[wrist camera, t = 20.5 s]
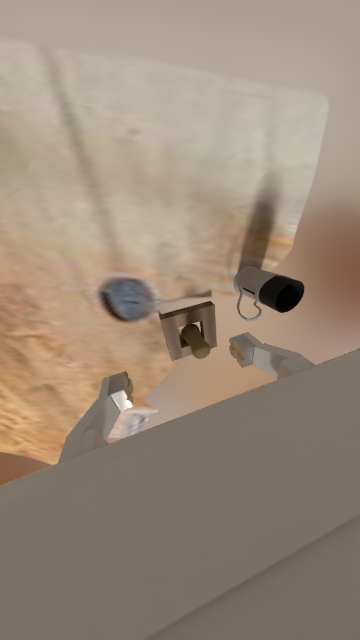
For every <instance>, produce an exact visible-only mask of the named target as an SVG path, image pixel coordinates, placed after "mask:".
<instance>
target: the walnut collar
mask: <svg viewBox="0 0 360 640" xmlns="http://www.w3.org/2000/svg"><path fill="white" fill-rule="evenodd" d="M159 317H160V320H161V324H162V328H163V331H164V335H165V339H166V342H167V346H168V350H169V353H170V357H171V360H172V361H174V360H177V359H180V358H183V357H186V356H189V355H192V351H191V347H190V346H189V344H188V343H187V342H186V341H183V342H180V338H179V334H178V329H177V328H178V327H181V326H185V325H188V324H192V323H195V322H198V321H200V327H201V335H202V337H203V339H204V341H205V342H207V343H208V344H209V346H210V349H211V348H214V347H216V346H217V342H216V322H215V305H214V304H213V303H212V302H211V301H209V302H205V303H201V304H198V305H194V306H191V307H187V308H183V309H179V310H176V311H172V312H169V313H165V314H161V315H159Z"/></svg>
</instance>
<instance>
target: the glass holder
mask: <svg viewBox="0 0 360 640" xmlns="http://www.w3.org/2000/svg"><path fill="white" fill-rule="evenodd" d="M234 288H235V290H236V292H237V293H239V294H240V297H239V300H238V304H237V310H238V313H239V314H240V316H241V317H242V318H243V319H245V320H247V321H254V320H256V319H258V318H259V317H260V316H261V309H260V308H259V307H258V306H257V305H256V304H257V303H258V302H260V303H261V304H263V305H267V306H268V307H270V308H272V309H274V310H276V311H278V312H281V313H284V312H288V311H290V310H291V309H293V308H294V307H295V306H296V305H297V304H298V303H299V302H300V300H301V299H302V297H303V294H304V285H303V283H302V282H301V281H297V280H294V279H291V278H289V277H286V276H282V275H278V274H274V273H271V272H267V271H264V270H260V269H257V268H256V267H255V266H246V267H244V268H243V269H241V270H240V271H239V272H238V274H237V275H236V277H235V280H234ZM242 294H244V295H246V296H248V297H250V298H252V299H254V300H255V302H254V306H255V307H256V308H258V309H259V314H258V315H257V316H256V317H254V318H251V319H247V318H245V317H244V316H242V315H241V313H240V310H239V304H240V301H241V298H242Z"/></svg>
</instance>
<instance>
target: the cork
mask: <svg viewBox="0 0 360 640" xmlns="http://www.w3.org/2000/svg"><path fill="white" fill-rule="evenodd" d="M181 334H182V337H183V338H184V339H185V340H186V342H187V343H188V344H189V346H190V347H191V351H192V354H193V355H194V356H195V357H196V358H198V359H202V358H205V357H207V356H208V355H209V353H210V346H209V344H208V343H207V342H205V341H204V339H203V337H202V335H201V332H200V330H199V328H198V326H197V325H195V324H188V325H186V326H185V327H184V328H183V329H182V332H181Z"/></svg>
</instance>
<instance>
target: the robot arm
mask: <svg viewBox="0 0 360 640" xmlns="http://www.w3.org/2000/svg"><path fill="white" fill-rule="evenodd" d="M229 342H230V343H231V345H230V346H229V347H230V348H229V350H230V353H231V355H232V356H233V357H234V358H236V359H237V362H238V363H239V364H240V366H241V367H242V368H243V367H246V366H249V365H254V366H255V367H258V368H259V369H261V370H263V371H265V372H267V373H269V374H271V375H273V376H275V377H277V380H276V381H273V382H271V383H268V384H265V385H263V386H260V387H258V388H255V389H252V390H250V391H247V392H244V393H242V394H239V395H236V396H234V397H231V398H228V399H226V400H223V401H221V402H218V403H215V404H213V405H210V406H208V407H205V408H202V409H200V410H197V411H195V412H192V413H189V414H187V415H184V416H181V417H179V418H176V419H173V420H171V421H168V422H166V423H163V424H160V425H158V426H155V427H152V428H150V429H147V430H144V431H142V432H139V433H137V434H134V435H131V436H129V437H126V438H123V439H121V440H118V441H116V442H113V443H110V444H109V443H108V442H107V441H106V440H107V438H108V436H109V434H110V432H111V430H112V428H113V426H114V424H115V422H116V420H117V418H118V416H119V414H120V411H122V410H125V409H128V408H130V407H133V397H132V395H131V394H132V393H133V386H132V382H131V380H130V379H129V378H128V374H127V372H122V373H118V374H115V375H112V376H109V377H105V378H104V379H103V380H102V385H101V390H100V394H99V399H97V400H96V401H95V402H94V403H93V405H92V406H91V407H90V408H89V410H88V411H87V412H86V413H85V415H84V416H83V417H82V418H81V420H80V421H79V422H78V424H77V425H76V426H75V427H74V429H73V430H72V431H71V432H70V434H69V435H68V436H67V438H66V441H65V444H64V447H63V450H62V453H61V456H60V459H59V462H58V464H55V465H53V466H50V467H47V468H45V469H42V470H39V471H37V472H34V473H32V474H29V475H26V476H24V477H21V478H18V479H16V480H13V481H11V482H8V483H5V484H3V485H0V640H360V348H359V349H357V350H354V351H352V352H349V353H347V354H344V355H341V356H339V357H336V358H334V359H331V360H328V361H326V362H323V363H321V364H318V365H315V364H313V363H312V362H310V361H309V360H308V359H306V358H305V357H303V356H302V355H301V354H298V353H296V352H292V351H289V350H285V349H282V348H278V347H275V346H272V345H268V344H265V343H264V344H262V343H261V342H260V341H258V340H257V339H256V338H255V337H254V336H252V335H251V334H250V333H248V332H247V333H244V334H241V335H238V336H235V337H232V338H230V339H229Z"/></svg>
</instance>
